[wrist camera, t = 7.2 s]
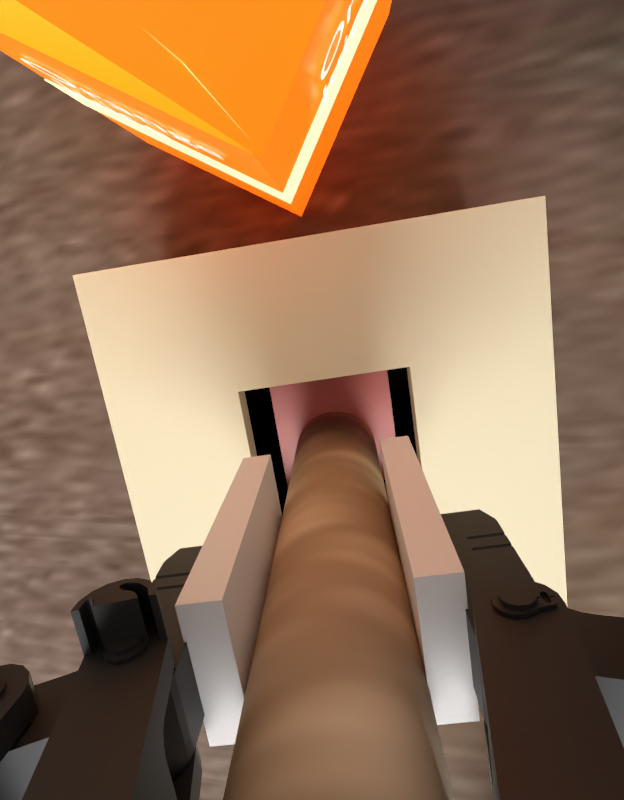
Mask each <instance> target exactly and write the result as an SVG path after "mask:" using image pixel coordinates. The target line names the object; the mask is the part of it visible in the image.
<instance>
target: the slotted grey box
mask: <svg viewBox="0 0 624 800" xmlns="http://www.w3.org/2000/svg"><path fill="white" fill-rule="evenodd" d="M73 279H74V283H75V287H76V290H77V294H78V298H79V302H80V306H81V310H82V314H83V318H84V322H85V325H86V329H87V333H88V337H89V341H90V345H91V349H92V353H93V357H94V360H95V364H96V368H97V372H98V376H99V380H100V384H101V388H102V392H103V396H104V399H105V403H106V407H107V411H108V415H109V419H110V423H111V427H112V431H113V434H114V438H115V442H116V446H117V450H118V454H119V458H120V462H121V466H122V469H123V473H124V477H125V481H126V485H127V489H128V493H129V497H130V501H131V504H132V508H133V512H134V516H135V520H136V524H137V528H138V532H139V536H140V539H141V543H142V547H143V551H144V555H145V559H146V563H147V567H148V571H149V574H150V578H151V582H153V580H154V579H156V575H157V573H158V571H159V570H160V568H161V566H162V564H163V563H164V561H166V560H167V559H168V558H169V557H170V556H172V555H173V554H174V553H175V552H176V551H177V550H179V549H180V548H187V547H195V546H203V544H204V542H205V539H206V537H207V535H208V533H209V531H210V529H211V527H212V524H213V522H214V520H215V518H216V516H217V514H218V512H219V509H220V507H221V505H222V503H223V501H224V499H225V497H226V494H227V492H228V490H229V488H230V486H231V484H232V481H233V479H234V477H235V475H236V473H237V471H238V469H239V466H240V464H241V462H242V460H243V458H248V457H255V456H257V453H256V448H255V442H254V437H253V432H252V427H251V422H250V417H249V411H248V406H247V401H246V396H245V391H247V390H254V389H261V388H268V387H274V386H281V385H288V384H295V383H302V382H309V381H315V380H322V379H329V378H336V377H343V376H350V375H356V374H363V373H370V372H377V371H384V370H391V369H397V368H404V367H407V375H408V383H409V391H410V400H411V408H412V416H413V425H414V433H415V442H416V450H417V458H418V461H419V463H420V466H421V468H422V471H423V473H424V475H425V478H426V480H427V483H428V485H429V488H430V490H431V492H432V495H433V497H434V500H435V502H436V504H437V507H438V509H439V512H440V514H446V513H454V512H462V511H470V510H478V509H480V510H481V511H483V512H485V513H486V514H488V515H490V516H492V517H493V518H495V519H496V520H497V521H498V523H499V525H500V526H501V528H502V529H503V531H504V533H505V535H506V536H507V537H508V539H509V541H510V542H511V545H512V546H513V547H514V549H515V550H516V552H517V554H518V555H519V557H520V558H521V560H522V562H523V563H524V565H525V566H526V568H527V570H528V571H529V573H530V574H531V576H532V578H533V579H534V581H535V582H537V583H541V584H544V585H546V586H547V587H549V588H551V589H552V590H554V591H556V592H557V593H558V594H559V595H560V597H561V598H562V599H563V601H564V602H565V603H566V606H567V591H566V573H565V554H564V536H563V517H562V498H561V480H560V461H559V443H558V424H557V406H556V387H555V369H554V350H553V332H552V313H551V295H550V276H549V258H548V239H547V220H546V202H545V196H540V197H534V198H528V199H522V200H517V201H511V202H505V203H499V204H493V205H487V206H481V207H475V208H469V209H463V210H457V211H451V212H445V213H439V214H433V215H428V216H422V217H416V218H410V219H404V220H398V221H392V222H386V223H380V224H374V225H368V226H362V227H356V228H350V229H344V230H339V231H333V232H327V233H321V234H315V235H309V236H303V237H297V238H291V239H285V240H279V241H273V242H267V243H261V244H255V245H250V246H244V247H238V248H232V249H226V250H220V251H214V252H208V253H202V254H196V255H190V256H184V257H178V258H172V259H166V260H161V261H155V262H149V263H143V264H137V265H131V266H125V267H119V268H113V269H107V270H101V271H95V272H89V273H83V274H77V275H73Z"/></svg>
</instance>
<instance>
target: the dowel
mask: <svg viewBox="0 0 624 800" xmlns="http://www.w3.org/2000/svg"><path fill="white" fill-rule="evenodd" d="M223 800H453V795H452V791H451V786H450V782H449V777H448V772H447V768H446V763H445V759H444V754H443V750H442V745H441V740H440V736H439V731H438V727H437V722H436V718H435V713H434V709H433V704H432V699H431V695H430V690H429V687H428V684H427V680H426V675H425V671H424V666H423V662H422V657H421V652H420V648H419V643H418V639H417V634H416V629H415V625H414V620H413V616H412V611H411V606H410V602H409V597H408V593H407V588H406V583H405V579H404V574H403V570H402V565H401V560H400V556H399V551H398V546H397V542H396V537H395V533H394V528H393V523H392V519H391V514H390V510H389V505H388V499H387V494H386V489H385V485H384V480H383V476H382V471H381V467H380V462H379V457H378V453H377V448H376V444H375V440H374V437H373V434H372V432H371V430H370V429H369V427H368V426H367V425H366V424H365V423H364V422H363V421H362V420H360V419H359V418H357V417H356V416H353V415H351V414H348V413H344V412H329V413H325V414H322V415H319V416H317V417H315V418H314V419H312V420H311V421H310V422H309V423H308V424H307V425H306V426H305V427H304V429H303V430H302V432H301V434H300V437H299V439H298V444H297V449H296V454H295V458H294V463H293V468H292V473H291V477H290V482H289V487H288V492H287V497H286V501H285V506H284V511H283V516H282V520H281V525H280V530H279V535H278V540H277V544H276V549H275V554H274V559H273V563H272V568H271V573H270V578H269V583H268V587H267V592H266V597H265V602H264V606H263V611H262V616H261V621H260V626H259V630H258V635H257V640H256V645H255V649H254V654H253V659H252V664H251V669H250V673H249V678H248V683H247V688H246V692H245V697H244V702H243V707H242V712H241V716H240V721H239V726H238V731H237V735H236V740H235V745H234V750H233V755H232V759H231V764H230V769H229V774H228V778H227V783H226V788H225V793H224V798H223Z"/></svg>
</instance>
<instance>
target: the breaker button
mask: <svg viewBox="0 0 624 800" xmlns="http://www.w3.org/2000/svg"><path fill="white" fill-rule="evenodd" d="M269 388H270V393H271V399H272V404H273V410H274V415H275V421H276V426H277V432H278V437H279V443H280V448H281V454H282V459H283V465H284V470H285V476H286V481H287V487H289V482H290V477H291V473H292V468H293V463H294V458H295V454H296V449H297V444H298V439H299V437H300V434H301V432H302V430H303V429H304V427H305V426H306V425H307V424H308V423H309V422H310V421H311V420H312V419H314V418H315V417H317V416H319V415H322V414H325V413H329V412H344V413H348V414H351V415H353V416H356V417H357V418H359V419H360V420H362V421H363V422H364V423H365V424H366V425H367V426H368V427H369V429H370V430H371V432H372V434H373V437H374V440H375V444H376V448H377V453H378V457H379V462H380V467H381V471H382V476H383V480H384V479H385V475H384V468H383V461H382V453H381V446H380V439H387V438H394V437H396V435H395V428H394V420H393V412H392V404H391V396H390V389H389V381H388V373H387V370H384V371H377V372H370V373H363V374H356V375H350V376H343V377H336V378H329V379H322V380H315V381H309V382H302V383H295V384H288V385H281V386H274V387H269Z"/></svg>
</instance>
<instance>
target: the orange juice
mask: <svg viewBox="0 0 624 800" xmlns="http://www.w3.org/2000/svg"><path fill="white" fill-rule="evenodd" d="M391 1H392V0H0V50H1V51H2V52H4V53H5V54H7V55H8V56H10V57H12V58H13V59H15V60H16V61H18V62H20V63H21V64H23V65H24V66H26V67H28V68H29V69H31V70H32V71H34V72H36V73H37V74H39V75H40V76H42V77H44V78H45V81H47V82H48V83H50V84H52V85H53V86H55V87H56V88H58V89H60V90H61V91H63V92H65V93H66V94H68V95H69V96H71V97H73V98H74V99H76V100H77V101H79V102H81V103H82V104H84V105H86V106H88V107H90V108H92V109H94V110H96V111H98V112H99V113H101V114H102V115H104V116H106V117H107V118H109V119H110V120H112V121H114V122H115V123H117V124H118V125H120V126H122V127H123V128H125V129H126V130H128V131H129V132H131V133H133V134H134V135H136V136H137V137H139V138H141V139H142V140H144V141H145V142H147V143H149V144H151V145H153V146H155V147H157V148H160V149H162V150H164V151H166V152H168V153H170V154H172V155H174V156H176V157H178V158H180V159H182V160H185V161H187V162H189V163H191V164H193V165H195V166H197V167H199V168H201V169H203V170H205V171H207V172H209V173H212V174H214V175H216V176H218V177H220V178H222V179H224V180H226V181H228V182H230V183H232V184H234V185H237V186H239V187H241V188H243V189H245V190H247V191H249V192H251V193H253V194H255V195H257V196H259V197H262V198H264V199H266V200H268V201H270V202H272V203H274V204H276V205H278V206H280V207H282V208H284V209H287V210H289V211H291V212H293V213H295V214H297V215H299V216H301V217H302V214H303V212H304V210H305V207H306V205H307V203H308V200H309V198H310V196H311V193H312V191H313V189H314V186H315V184H316V182H317V179H318V177H319V175H320V173H321V170H322V168H323V166H324V163H325V161H326V159H327V156H328V154H329V152H330V149H331V147H332V145H333V142H334V140H335V138H336V135H337V133H338V131H339V128H340V126H341V124H342V122H343V119H344V117H345V115H346V112H347V110H348V108H349V105H350V103H351V101H352V98H353V96H354V94H355V91H356V89H357V87H358V84H359V82H360V80H361V78H362V75H363V73H364V71H365V68H366V66H367V64H368V61H369V59H370V57H371V54H372V52H373V50H374V47H375V45H376V43H377V40H378V38H379V36H380V33H381V31H382V29H383V27H384V24H385V22H386V20H387V17H388V15H389V11H390V6H391Z"/></svg>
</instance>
